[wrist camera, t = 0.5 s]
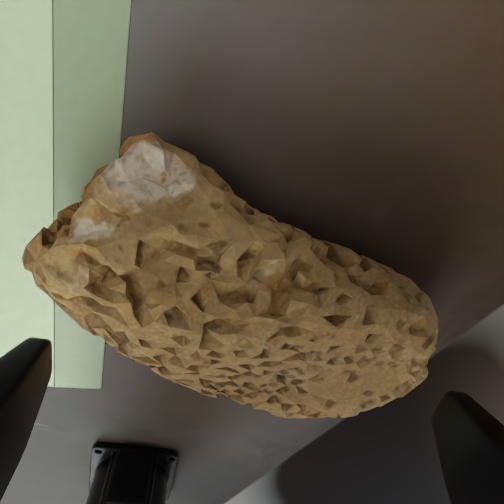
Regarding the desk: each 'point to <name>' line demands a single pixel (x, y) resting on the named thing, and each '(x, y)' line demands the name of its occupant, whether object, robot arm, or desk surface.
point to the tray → (54, 154)
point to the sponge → (229, 291)
